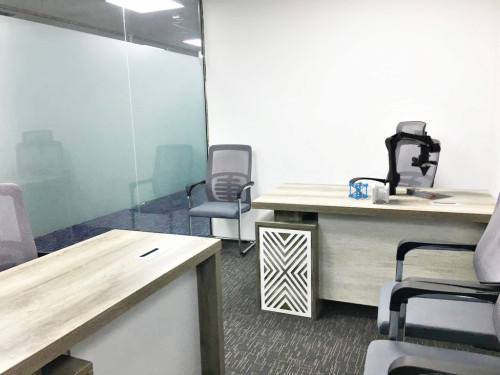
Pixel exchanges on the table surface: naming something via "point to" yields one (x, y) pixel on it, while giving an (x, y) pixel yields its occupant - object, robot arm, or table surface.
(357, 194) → the molecular structure
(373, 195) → the cable organizer
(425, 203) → the table surface
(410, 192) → the tong base
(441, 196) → the desk mat
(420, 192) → the tong arm
